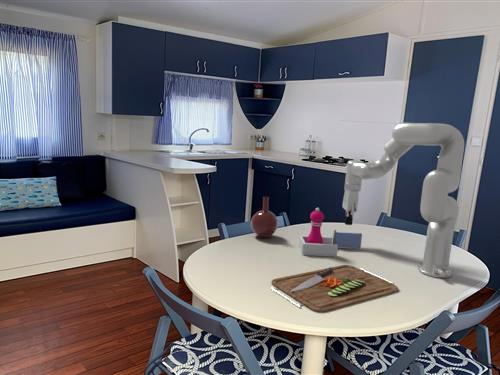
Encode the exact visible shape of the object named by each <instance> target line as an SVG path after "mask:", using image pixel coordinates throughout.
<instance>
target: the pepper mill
mask: <svg viewBox="0 0 500 375" xmlns="http://www.w3.org/2000/svg"><path fill="white" fill-rule="evenodd" d="M309 218H310V220H311V221H310V225H311V228H310V229H311V230H310V232H309V234H308V235H307V236H308V238H307V243H314V244H323V238H322V237H323V235H322V233H321V228H322V226H323V220H324V218H325V215H324V213H323V212H322V211H320V208H319V207H316V208H315V210H313V211H312V212H311V213H310V217H309Z"/></svg>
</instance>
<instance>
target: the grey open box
mask: <svg viewBox="0 0 500 375" xmlns="http://www.w3.org/2000/svg"><path fill="white" fill-rule="evenodd" d="M308 236H309V235H299V236H298V248H299V250H300V253H301V255H302V256H321V257H322V256H323V257H337V256H338V248H339V247H338V245H335V244H332V243H333V236H322V238H323V244H314V243H307V238H308Z"/></svg>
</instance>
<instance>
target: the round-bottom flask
mask: <svg viewBox="0 0 500 375" xmlns="http://www.w3.org/2000/svg"><path fill="white" fill-rule="evenodd" d="M262 198H263V199H262V210H259V211H257V212H256V213H255V214H254V215H253V216H252V218H251V220H250V228H251V229H252V231H253V233H254V234H255V235H256V236H257V237H260V238H269V237H271V236H273V235H274V234H275V233H276V231H277V230H278V224H279V222H278V218H277V216H276V215H275V213H273V212H272V211H270V210H269V199H270V196H265V195H264V196H262Z"/></svg>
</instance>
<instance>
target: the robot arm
mask: <svg viewBox="0 0 500 375" xmlns="http://www.w3.org/2000/svg"><path fill="white" fill-rule="evenodd" d="M391 136H392V137H391V138H390V139H389V140H388V141H386V143H384V145H383V150H384V154H383V155H382V156H381V157H380V158H378V159H377V160H376V161H375V162H374V161H373V162H363V161H361V160H348V161H347V162H346V163H347V165H346V170H345V171H346V172H345V181H344V188H343V189H344V194H343V199H342V209H344V210H345V219H344V224H345V225H346V226H352V225H353V221H354V215H355V213H356V212H358V206H359V205H358V204H359V194H360V192H362V191H361V190H362V181H363V180H365V181H367V180H375V179H379V178H382V177H384V176H385V175H386V174H387V173H388V172H390V171H391V170H392V169H393V168H394V167H395V166H396V164H397V162H399V159H400V158H401V157H402V156H403V155H405V154H406V153H407V152H408V151H410V149H412V148H413V147H414V146H431V147H432V146H440V148H441V149H440V151H439V155H438V156H437V164H436V169H433V170H432V171H430V172H428V173H427V174H426V176H425V178H424V179H423V183H422V189H421V198H420V206H419V207H420V208H419V209H420V214H421V217H422V218H423V219H424V220H425V221H426V222H427V223H428V226H427V231H426V236H425V237H426V238H425V246H424V253H423V260H422V264H419V265H418V267H417V270H418V271H419V272H420V273H422V274H424V275H426V276H429V277H433V278H441V279H447V278H451V277H452V275H453V273H452V271H451V269H449V265H450V260H451V259H450V258H451V252H452V247H453V238H454V234H455V233H454V232H455V227H456V223H457V220H458V216H459V213H460V212H459V210H460V206H459V203H458V201H457V199H455V198H454V197H452V196H449V194H451V193H453V192H455V191H456V190H457V189H458V188H459V186H460V182H461V174H462V166H463V165H462V164H463V157H464V151H465V139H464V137H463V135H462V133H461V131H460V130H459V129H457V128H456V127H454V126H453V125H451V124H447V123H441V122H440V123H437V122H436V123H435V122H433V123H432V122H427V123H426V122H424V123H422V122H417V123H416V122H400V123H398V124H396V126H394V128H393V129H392V133H391Z"/></svg>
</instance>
